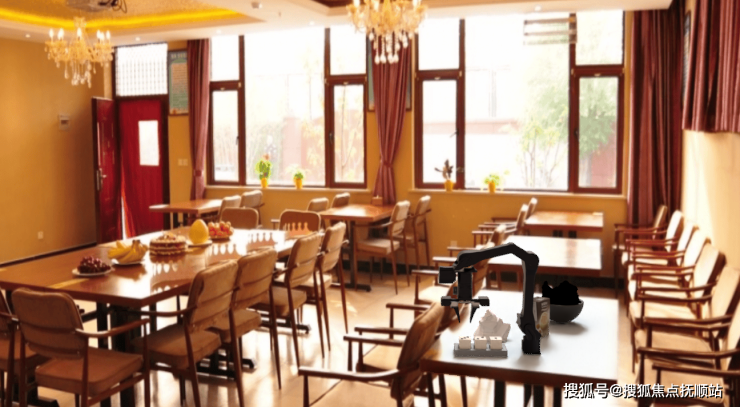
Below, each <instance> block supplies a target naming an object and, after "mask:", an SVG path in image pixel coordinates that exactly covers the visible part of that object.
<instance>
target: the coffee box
mask: <svg viewBox="0 0 740 407" xmlns="http://www.w3.org/2000/svg"><path fill="white" fill-rule="evenodd" d="M533 314H534V318H535V325H536V328H537V330H538V331H539V332H540V333H541V335H542V336H541V338H540V339H542V338H543V339H544V338H545V337H549V336H550V321H551V320H550V298H545V297H542V296H534V301H533Z"/></svg>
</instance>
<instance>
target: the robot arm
mask: <svg viewBox="0 0 740 407" xmlns="http://www.w3.org/2000/svg"><path fill="white" fill-rule="evenodd" d="M510 254H511V255H513V256H514V257H516V258H518V259H520V261H521V268H522V272H523V281H522V284H523V285H522V301H521V302H522V304H521V310H520V313H519V312H517V313H516V321H515V324H516V325H517V327H518V328H519V330H520V331H521V332H522V334H523V335H522V339H521V340H520V341H521V351H522V353H523V355H542V352H541V339H542V338H541V336H542V335H541V333H540V332H539V331H538V330H537V328H536V325H535V318H534V314H533V301H534V297H535V279H536V274H537V272H538V269H539V266H540V257H539V255H537V254H536V253H535V252H533V251H532V250H525V249H524V248H522V247H520V246H519V245H517V244H516V243H515V242H513V241H509V242H507V243H503V244H500V245H495V246H492V247H491V246H490V247H486V248H481V249H469V250H468V249H466V250H464V249H463V250H461V251H459V252H458V254H457V255H456V260H455V261H454V262H453V264H452V265H451V266H443V265H439V266H438V272H437V273H438V274H437V282H438V283H437V284H439V285H443V284H444V285H445V284H447V285H450V284H454V283H455V282H457V284H456V285H457V286H452V295H453V296H454V295H455V296H456V298H452V296H451V295H443V296H442V295H441V297H440V306H441V307H450V308H451V309H453V310H454V312H455V314H456V317H457V320H458V324H460V323H461V316H460V309H459V307H460V306H459V304H470V312H469V324H472V321H473V318H474V316H475V313H476V312H477V310H478V309H480V306H481V307H490V305H491V303H490V301H491V300H490V297H488V296H487V295H485V296H484V295H482V296H481V295H479V296H478V298H473V273H478V269H476V268H475V266H474V265H476V264H478V263H480V262H482V261H485V260H490V259H493V258H494V259H495V258H497V257H502V256H506V255H510Z"/></svg>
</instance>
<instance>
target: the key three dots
mask: <svg viewBox="0 0 740 407" xmlns="http://www.w3.org/2000/svg"><path fill="white" fill-rule="evenodd" d="M458 343H459V349H471V343H472V339H471V336H462V335H460V336H458Z"/></svg>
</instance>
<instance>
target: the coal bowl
mask: <svg viewBox="0 0 740 407" xmlns="http://www.w3.org/2000/svg"><path fill="white" fill-rule="evenodd" d="M548 282H549V281H547V280H544V281H543V284H542V285H541V297H545V298H550V320H549V321H551V322H554V323H559V324H565V323H566V324H567V323H570V322H571V321H574V320H575V319H577V318H578V317H579V315H581V313H582V312H583V309H584V306H585V301H584V300H583V299H581V298H580V295H579V293H578V290H579V288H578V287H577V286H576V285H574V284H573V283H570V282H569V281H568V280H566V279H565V280H563V281H562V282H560V283H559V285H558V286H554V287H553V288H552V287H551V286H550V285H549V283H548Z"/></svg>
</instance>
